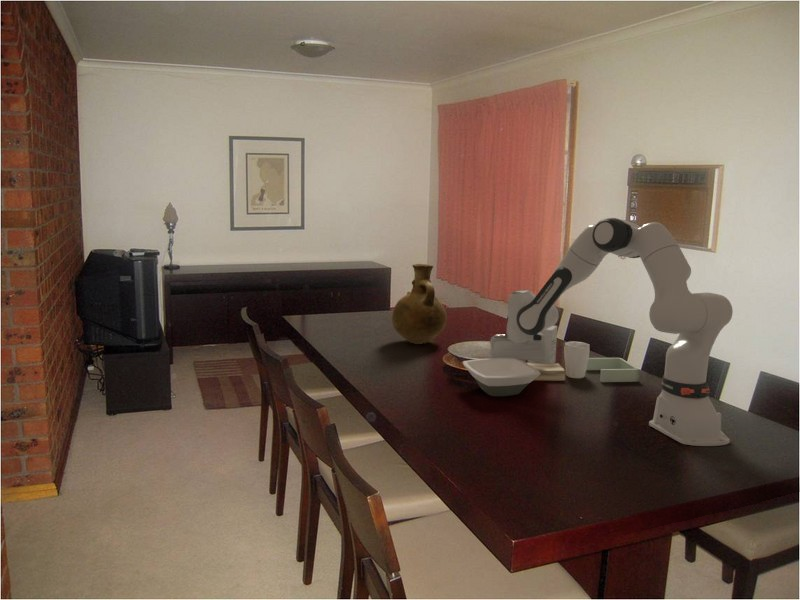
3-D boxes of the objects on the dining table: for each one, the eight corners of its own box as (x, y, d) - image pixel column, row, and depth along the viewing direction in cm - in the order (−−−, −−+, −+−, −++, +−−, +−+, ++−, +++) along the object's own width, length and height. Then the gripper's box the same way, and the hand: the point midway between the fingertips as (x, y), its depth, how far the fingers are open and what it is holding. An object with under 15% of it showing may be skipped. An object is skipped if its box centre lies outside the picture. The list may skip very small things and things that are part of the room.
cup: (589, 380, 227) (591, 347, 225) (563, 378, 228) (565, 346, 226) (586, 373, 235) (588, 342, 233) (562, 371, 237) (563, 340, 235)
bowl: (482, 404, 200) (483, 379, 198) (457, 383, 221) (457, 360, 220) (545, 399, 206) (546, 374, 204) (514, 379, 227) (515, 356, 226)
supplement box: (526, 364, 246) (528, 327, 244) (533, 359, 254) (535, 323, 251) (550, 367, 242) (552, 329, 239) (555, 362, 250) (557, 325, 247)
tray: (638, 381, 226) (639, 369, 225) (600, 382, 225) (601, 369, 224) (619, 369, 241) (620, 357, 241) (584, 369, 240) (585, 358, 239)
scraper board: (564, 381, 226) (565, 370, 225) (531, 381, 226) (531, 370, 225) (557, 373, 236) (558, 363, 235) (525, 373, 236) (526, 362, 235)
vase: (455, 347, 271) (457, 266, 265) (403, 352, 262) (404, 268, 256) (432, 335, 293) (433, 260, 287) (383, 339, 284) (384, 262, 278)
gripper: (492, 336, 223) (491, 374, 226) (548, 336, 225) (546, 373, 227) (488, 332, 229) (487, 369, 232) (543, 332, 231) (541, 368, 234)
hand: (517, 371), depth 230 cm, fingers closed
